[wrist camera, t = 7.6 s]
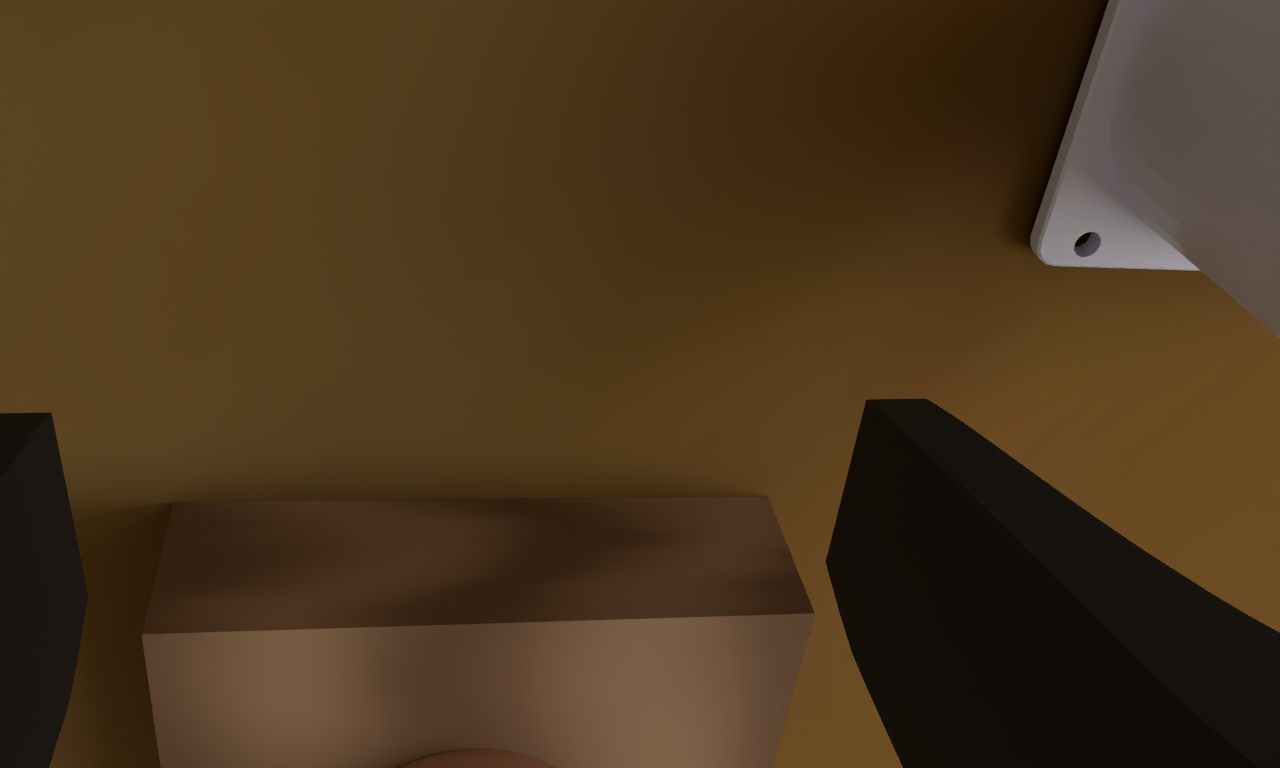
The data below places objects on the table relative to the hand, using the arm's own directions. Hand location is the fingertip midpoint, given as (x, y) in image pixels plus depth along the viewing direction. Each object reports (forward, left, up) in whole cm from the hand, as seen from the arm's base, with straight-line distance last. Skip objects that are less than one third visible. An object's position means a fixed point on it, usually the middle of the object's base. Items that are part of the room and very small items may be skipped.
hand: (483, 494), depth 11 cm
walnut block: (-1, +14, -11) cm, 18 cm away
